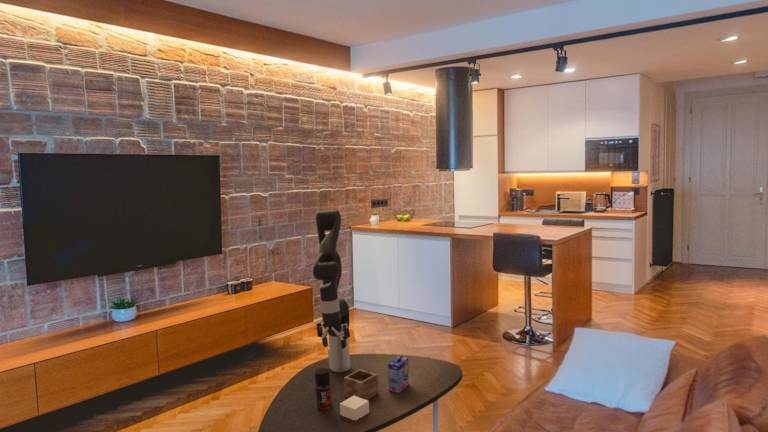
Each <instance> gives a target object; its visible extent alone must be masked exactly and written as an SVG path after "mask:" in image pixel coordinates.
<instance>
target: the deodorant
mask: <svg viewBox="0 0 768 432" xmlns="http://www.w3.org/2000/svg"><path fill="white" fill-rule="evenodd" d="M330 375H331V374H330V368H327V367H320V368H317V369H315V370H314V382H315V385H314V386H315V395H316V397H315V398H316V408H317V409H318V410H320V411H326V410H329V409H331V408H332V405H333V403H332V392H331V391H332V389H331V376H330Z"/></svg>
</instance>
